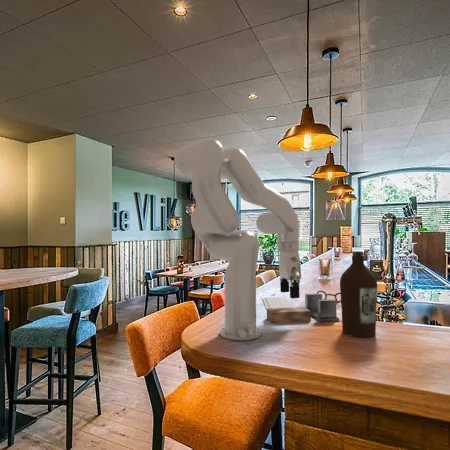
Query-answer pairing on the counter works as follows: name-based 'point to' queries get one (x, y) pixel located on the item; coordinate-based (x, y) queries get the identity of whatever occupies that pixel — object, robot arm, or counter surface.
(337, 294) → the glasses
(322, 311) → the grey flat-based fixture
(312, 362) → the counter surface
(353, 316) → the olive oil
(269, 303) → the baseboard molding
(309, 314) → the shelf board
